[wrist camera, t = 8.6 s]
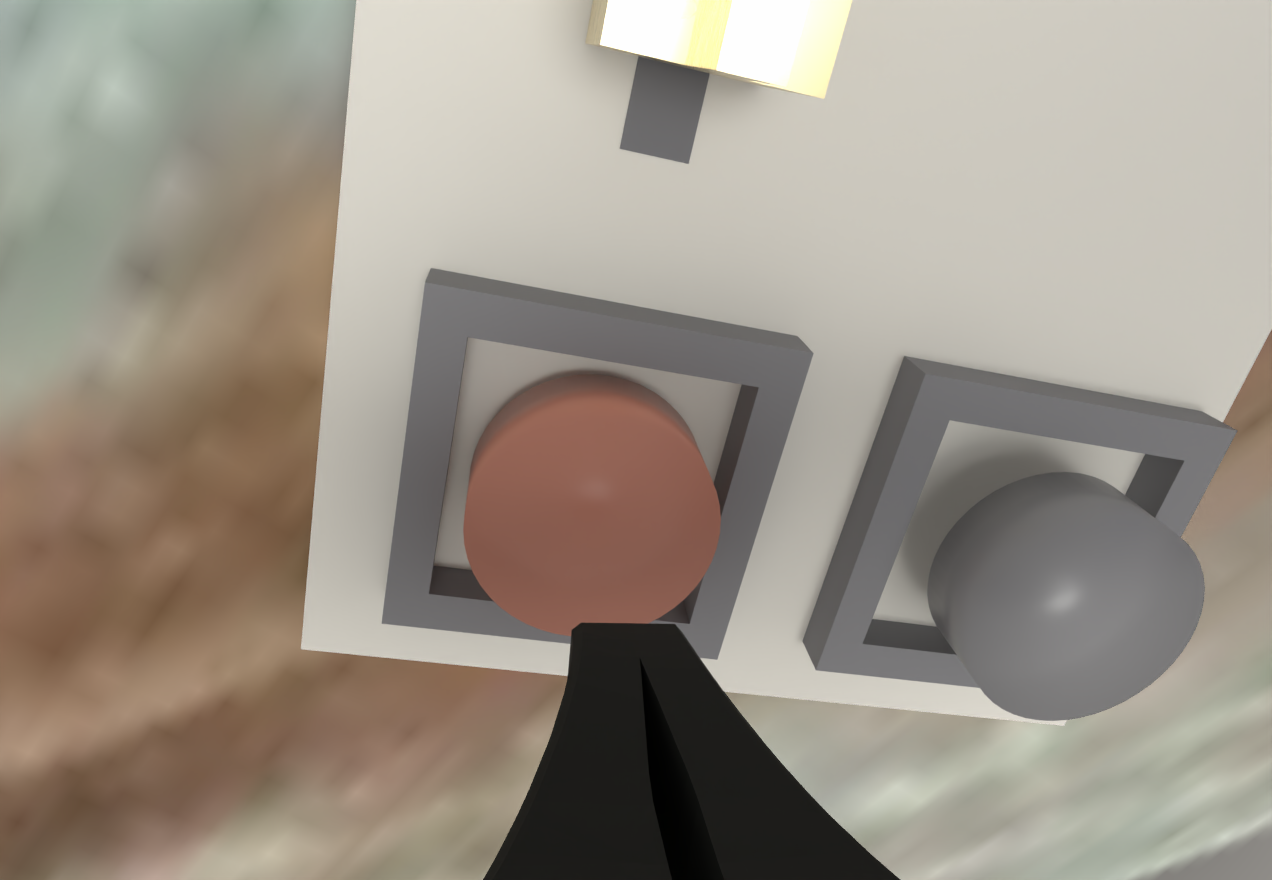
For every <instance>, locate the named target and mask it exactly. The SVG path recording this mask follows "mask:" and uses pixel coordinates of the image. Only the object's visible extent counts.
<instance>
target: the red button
mask: <svg viewBox="0 0 1272 880" xmlns="http://www.w3.org/2000/svg"><path fill="white" fill-rule="evenodd" d="M720 524H721V515H720V504H719V500H718V496H717V491H716V489H715V486H714V484H713V481H712V479H711V476H710V474H709V471H708V469H707V467H706V464H705V462H704V460H703V457H702V455H701V453H700V450H699V448H698V446H697V443H696V441H695V439H694V436H693V434H692V432H691V430H690V429H689V427H688V425H687V423H686V422H685V421H684V419H683V418H682V417H681V415H680V414H679V413H678V412H677V410H675V409H674V408H673V407H672V406H671V405H670V404H669V403H668V402H667V401H666V400H665V399H663V398H662V397H660V396H659V395H658V394H656V393H655V392H653V391H651V390H649V389H647V388H646V387H644V386H642V385H639V384H637V383H634V382H631V381H629V380H626V379H622V378H617V377H613V376H606V375H597V374H588V375H573V376H566V377H561V378H558V379H554V380H550V381H547V382H544V383H542V384H540V385H537V386H535V387H532V388H531V389H529V390H527V391H525V392H524V393H522V394H520V395H519V396H517V397H516V398H514V399H513V400H512V401H510V402H509V403H508V404H507V405H506V406H504V407H503V408H502V409H501V410H500V411H499V412H498V413H497V414H496V415H495V417H494V418H493V419H492V420H491V422H490V423H489V424H488V426H487V427H486V429H485V430H484V432H483V434H482V436H481V437H480V439H479V441H478V444H477V446H476V449H475V451H474V454H473V459H472V463H471V467H470V475H469V483H468V491H467V499H466V507H465V515H464V527H463V533H464V545H465V550H466V554H467V559H468V561H469V564H470V566H471V569H472V571H473V573H474V575H475V577H476V579H477V580H478V582H479V584H480V585H481V587H482V588H483V589H484V591H485V592H486V593H487V594H488V596H489V597H490V598H491V599H492V600H493V601H494V602H495V603H496V604H497V605H498V606H499V607H501V608H502V609H503V610H505V611H506V612H507V613H509V614H510V615H511V616H513V617H515V618H516V619H518V620H520V621H522V622H524V623H525V624H528V625H530V626H533V627H535V628H537V629H540V630H543V631H547V632H550V633H554V634H560V635H566V636H571V631H572V629H573V628H575V627H576V626H577V625H579V624H580V623H650V622H652V621H654V620H656V619H658V618H660V617H661V616H663V615H664V614H666V613H667V612H669V611H670V610H672V609H673V608H675V607H676V606H677V605H678V604H679V603H681V602H682V601H683V600H684V599H685V598H686V597H687V596H688V595H689V594H690V593H691V592H692V591H693V590H694V589H695V587H696V586H697V585H698V583H699V582H700V581H701V579H702V578H703V576H704V575H705V573H706V571H707V569H708V568H709V566H710V564H711V562H712V559H713V557H714V554H715V551H716V549H717V544H718V540H719V535H720Z"/></svg>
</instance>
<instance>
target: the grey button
mask: <svg viewBox="0 0 1272 880" xmlns="http://www.w3.org/2000/svg"><path fill="white" fill-rule="evenodd" d="M1204 591H1205V586H1204V577H1203V572H1202V569H1201V565H1200V563H1199V561H1198V559H1197V557H1196V555H1195V553H1194V552H1193V550H1192V549H1191V548H1190V546H1189V545H1188V544H1187V543H1186V542H1185V541H1184V540H1183V539H1181V538H1180V537H1179V536H1178V535H1177V534H1175V533H1174V532H1173V531H1172V530H1170V529H1169V528H1168V527H1166V526H1165V525H1164V524H1162V523H1161V522H1160V521H1158V520H1157V519H1156V518H1154V517H1153V516H1152V515H1150V514H1149V513H1148V512H1147V511H1145V510H1144V509H1143V508H1141V507H1140V506H1139V505H1137V504H1136V503H1135V502H1133V501H1132V500H1131V499H1129V498H1128V497H1127V496H1125V495H1124V494H1123V493H1121V492H1120V491H1119V490H1118V489H1116V488H1115V487H1113V486H1112V485H1110V484H1108V483H1107V482H1105V481H1103V480H1101V479H1098V478H1096V477H1093V476H1089V475H1085V474H1081V473H1072V472H1051V473H1045V474H1038V475H1034V476H1030V477H1027V478H1023V479H1020V480H1018V481H1015V482H1013V483H1010V484H1008V485H1006V486H1004V487H1002V488H1000V489H998V490H996V491H994V492H993V493H991V494H989V495H988V496H986V497H985V498H983V499H982V500H980V501H979V502H978V503H977V504H975V505H974V506H973V507H972V508H970V509H969V510H968V511H967V512H966V513H965V514H964V515H963V516H962V517H961V518H960V519H959V520H958V521H957V522H956V524H955V525H954V526H953V527H952V528H951V530H950V531H949V532H948V534H947V535H946V537H945V538H944V540H943V541H942V543H941V545H940V547H939V549H938V551H937V553H936V555H935V557H934V560H933V563H932V566H931V569H930V573H929V579H928V590H927V596H928V604H929V609H930V612H931V616H932V618H933V620H934V622H935V624H936V626H937V628H938V629H939V630H940V632H941V633H942V635H943V636H944V638H945V639H946V640H947V642H948V643H949V645H950V646H951V648H952V649H953V650H954V652H955V653H956V655H957V656H958V658H959V659H960V660H961V662H962V663H963V665H964V666H965V667H966V669H967V670H968V672H969V673H970V675H971V676H972V677H973V679H974V680H975V682H976V683H977V685H978V686H979V687H980V689H981V690H982V692H983V693H984V694H985V695H986V696H987V697H988V698H989V699H990V700H991V701H992V702H993V703H994V704H996V705H997V706H999V707H1000V708H1002V709H1003V710H1005V711H1007V712H1010V713H1012V714H1014V715H1017V716H1020V717H1024V718H1028V719H1034V720H1043V721H1059V720H1070V719H1075V718H1081V717H1085V716H1089V715H1092V714H1096V713H1099V712H1101V711H1104V710H1107V709H1109V708H1112V707H1114V706H1116V705H1118V704H1120V703H1122V702H1124V701H1126V700H1128V699H1129V698H1131V697H1133V696H1134V695H1136V694H1138V693H1139V692H1140V691H1142V690H1143V689H1145V688H1146V687H1147V686H1149V685H1150V684H1151V683H1153V682H1154V681H1155V680H1156V679H1157V678H1158V677H1160V676H1161V675H1162V674H1163V673H1164V672H1165V671H1166V670H1167V669H1168V668H1169V667H1170V666H1171V665H1172V664H1173V663H1174V661H1175V660H1176V659H1177V658H1178V656H1179V655H1180V654H1181V653H1182V651H1183V650H1184V648H1185V647H1186V645H1187V643H1188V642H1189V640H1190V639H1191V637H1192V635H1193V633H1194V631H1195V629H1196V627H1197V624H1198V621H1199V618H1200V615H1201V612H1202V607H1203V602H1204Z"/></svg>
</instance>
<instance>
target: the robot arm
mask: <svg viewBox="0 0 1272 880" xmlns="http://www.w3.org/2000/svg"><path fill="white" fill-rule="evenodd" d="M483 880H900V879H899V878H898V877H896V876H895V875H894V874H893V873H892V872H891V871H889V870H888V869H887V868H886V867H885V866H884V865H883V864H881V863H880V862H879V861H878V860H877V859H876V858H875V857H873V856H872V855H871V854H870V853H869V852H868V851H867V850H866V849H865V848H864V847H863V846H861V845H860V844H859V843H858V842H857V841H856V840H855V839H854V838H853V837H852V836H851V835H850V834H849V833H848V832H847V831H846V830H845V829H843V828H842V827H841V826H840V825H839V824H838V823H837V822H836V821H835V820H834V819H833V818H832V817H831V816H830V815H829V814H828V813H827V812H826V811H825V810H824V809H823V808H822V807H821V806H820V805H819V804H818V803H817V802H816V801H815V799H814V798H813V797H812V796H811V795H810V794H809V793H808V792H807V791H806V790H805V789H804V788H803V787H802V785H801V784H800V783H799V782H798V781H797V780H796V779H795V778H794V777H793V775H792V774H791V773H790V772H789V771H788V770H787V769H786V768H785V767H784V765H783V764H782V763H781V762H780V761H779V760H778V759H777V757H776V756H775V755H774V754H773V753H772V751H771V750H770V749H769V748H768V747H767V746H766V744H765V743H764V742H763V741H762V739H761V738H760V737H759V736H758V734H757V733H756V732H755V731H754V729H753V728H752V727H751V726H750V724H749V723H748V722H747V721H746V719H745V718H744V717H743V716H742V714H741V713H740V712H739V711H738V709H737V708H736V707H735V706H734V704H733V703H732V702H731V700H730V699H729V698H728V696H727V695H726V694H725V692H724V691H723V690H722V688H721V687H720V685H719V684H718V683H717V681H716V680H715V679H714V677H713V676H712V675H711V673H710V672H709V670H708V669H707V667H706V666H705V665H704V663H703V662H702V660H701V659H700V657H699V656H698V655H697V653H696V652H695V650H694V649H693V647H692V646H691V644H690V643H689V641H688V640H687V638H686V637H685V635H684V634H683V632H682V631H681V630H680V629H679V628H678V627H677V626H676V625H675V624H648V623H580V624H579V625H577V626H576V627H575V628H573V629H572V631H571V643H570V655H569V667H568V679H567V684H566V688H565V692H564V696H563V699H562V702H561V705H560V709H559V712H558V715H557V718H556V721H555V724H554V728H553V731H552V734H551V737H550V739H549V742H548V745H547V747H546V750H545V752H544V755H543V757H542V760H541V762H540V764H539V767H538V769H537V772H536V774H535V777H534V779H533V782H532V784H531V786H530V789H529V791H528V793H527V796H526V798H525V800H524V802H523V804H522V806H521V809H520V811H519V813H518V815H517V817H516V819H515V821H514V823H513V825H512V827H511V829H510V831H509V833H508V835H507V837H506V839H505V841H504V843H503V845H502V847H501V849H500V850H499V852H498V854H497V856H496V858H495V860H494V862H493V863H492V865H491V867H490V869H489V870H488V872H487V874H486V876H485V877H484V879H483Z"/></svg>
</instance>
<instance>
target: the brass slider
mask: <svg viewBox="0 0 1272 880" xmlns="http://www.w3.org/2000/svg"><path fill="white" fill-rule="evenodd" d="M851 3H852V0H593V3H592V9H591V14H590V20H589V25H588V31H587V36H586V42H585V43H586V44H590V45H594V46H598V47H602V48H606V49H610V50H614V51H619V52H623V53H627V54H631V55H635V56H639V57H643V58H647V59H651V60H656V61H660V62H664V63H668V64H672V65H676V66H680V67H684V68H689V69H693V70H697V71H701V72H705V73H709V74H713V75H717V76H721V77H726V78H730V79H734V80H738V81H742V82H746V83H750V84H754V85H759V86H763V87H767V88H772V89H777V90H782V91H787V92H792V93H797V94H802V95H807V96H812V97H817V98H822V99H824V98H825V94H826V91H827V87H828V84H829V80H830V77H831V73H832V70H833V66H834V63H835V59H836V56H837V52H838V49H839V45H840V42H841V38H842V35H843V31H844V28H845V24H846V21H847V17H848V13H849V10H850V6H851Z"/></svg>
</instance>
